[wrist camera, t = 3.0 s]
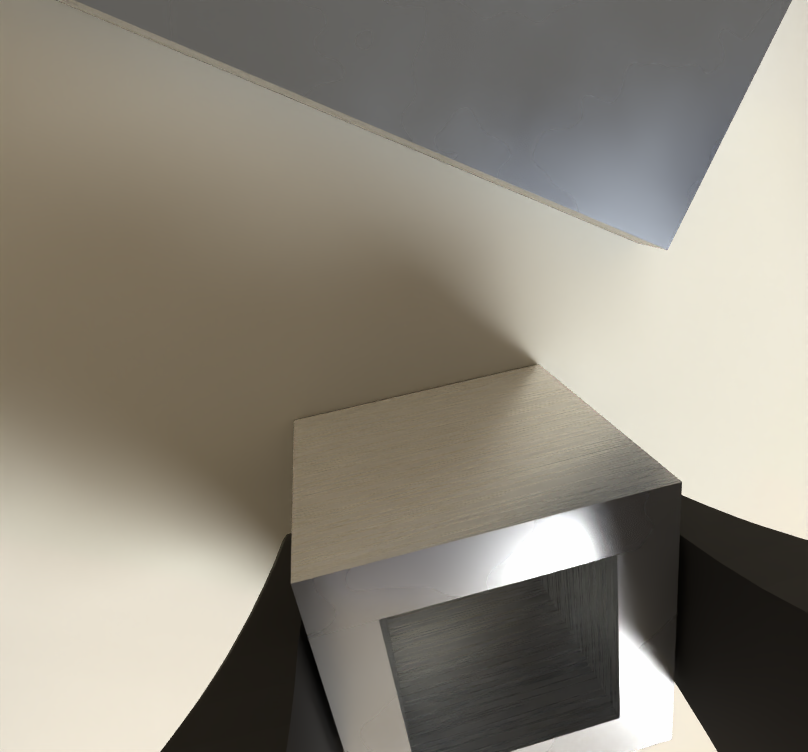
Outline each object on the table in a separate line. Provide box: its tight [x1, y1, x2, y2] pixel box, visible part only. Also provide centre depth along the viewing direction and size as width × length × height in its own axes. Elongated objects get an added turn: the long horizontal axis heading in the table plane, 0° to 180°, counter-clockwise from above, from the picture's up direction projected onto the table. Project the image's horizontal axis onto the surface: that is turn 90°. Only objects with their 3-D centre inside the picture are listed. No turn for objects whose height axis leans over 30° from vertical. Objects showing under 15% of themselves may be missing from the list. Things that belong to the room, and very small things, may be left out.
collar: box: [291, 364, 682, 752], centre depth 11 cm, size 6×6×5 cm
